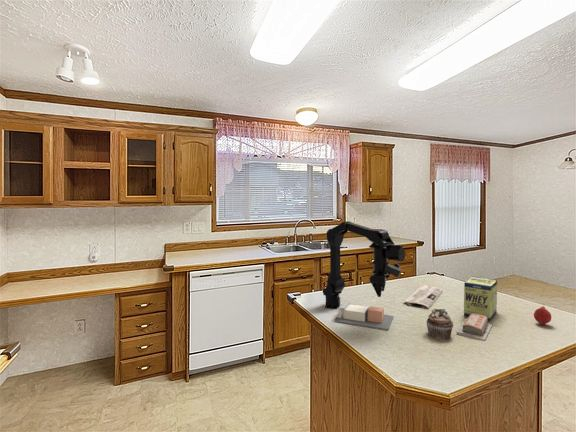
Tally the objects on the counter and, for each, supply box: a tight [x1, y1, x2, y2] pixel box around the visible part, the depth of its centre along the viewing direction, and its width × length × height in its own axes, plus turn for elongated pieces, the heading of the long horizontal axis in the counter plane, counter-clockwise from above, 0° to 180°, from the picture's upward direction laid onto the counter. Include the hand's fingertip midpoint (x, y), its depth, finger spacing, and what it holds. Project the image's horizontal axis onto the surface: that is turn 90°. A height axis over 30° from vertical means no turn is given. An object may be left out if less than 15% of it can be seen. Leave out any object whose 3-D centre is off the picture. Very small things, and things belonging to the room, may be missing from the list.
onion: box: [533, 305, 552, 326], centre depth 134 cm, size 6×6×8 cm
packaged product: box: [456, 313, 493, 342], centre depth 130 cm, size 18×5×10 cm
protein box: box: [463, 276, 498, 322], centre depth 146 cm, size 10×16×16 cm
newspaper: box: [403, 283, 443, 310], centre depth 172 cm, size 35×12×4 cm, turn 143°
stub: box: [368, 305, 385, 323], centre depth 140 cm, size 6×5×5 cm
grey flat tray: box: [334, 301, 395, 332], centre depth 142 cm, size 23×16×6 cm
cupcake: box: [426, 308, 454, 340], centre depth 125 cm, size 10×10×10 cm
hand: (381, 293), depth 139 cm, fingers open, 9 cm apart
